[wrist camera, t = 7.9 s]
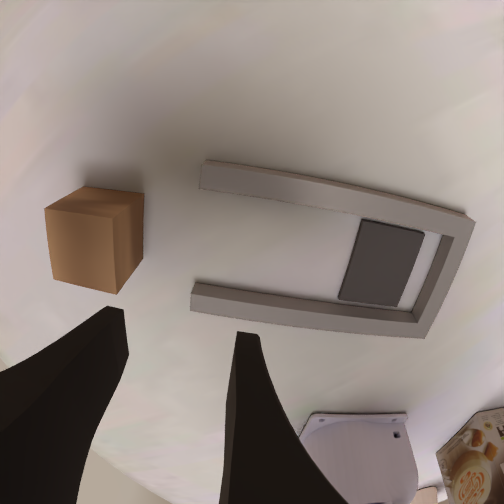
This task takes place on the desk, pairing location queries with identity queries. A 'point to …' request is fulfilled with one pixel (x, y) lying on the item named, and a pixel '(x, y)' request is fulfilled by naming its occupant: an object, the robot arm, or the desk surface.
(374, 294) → the pad
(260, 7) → the desk surface
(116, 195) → the walnut block
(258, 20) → the desk surface
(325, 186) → the guide channel
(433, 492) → the cup
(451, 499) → the coffee box
